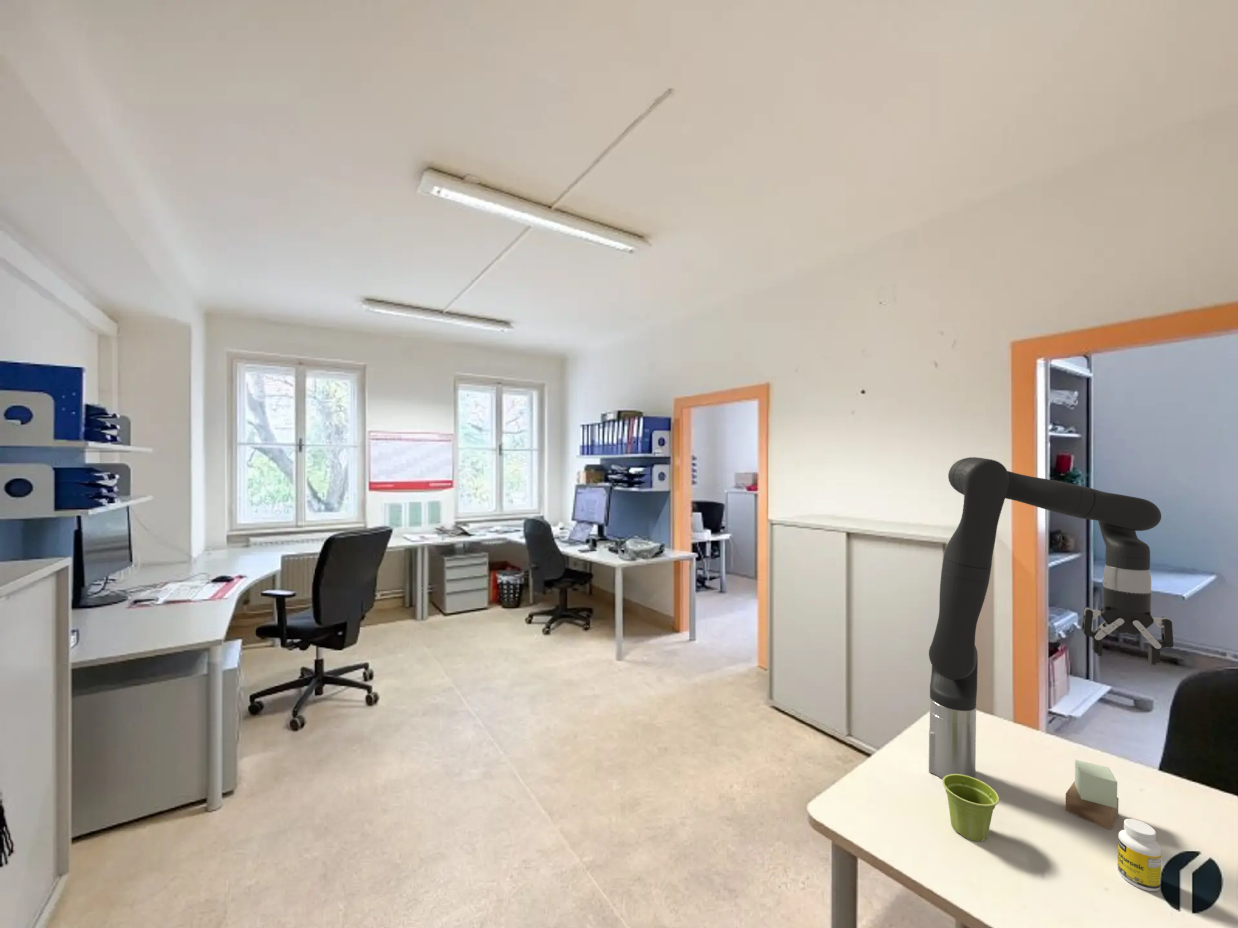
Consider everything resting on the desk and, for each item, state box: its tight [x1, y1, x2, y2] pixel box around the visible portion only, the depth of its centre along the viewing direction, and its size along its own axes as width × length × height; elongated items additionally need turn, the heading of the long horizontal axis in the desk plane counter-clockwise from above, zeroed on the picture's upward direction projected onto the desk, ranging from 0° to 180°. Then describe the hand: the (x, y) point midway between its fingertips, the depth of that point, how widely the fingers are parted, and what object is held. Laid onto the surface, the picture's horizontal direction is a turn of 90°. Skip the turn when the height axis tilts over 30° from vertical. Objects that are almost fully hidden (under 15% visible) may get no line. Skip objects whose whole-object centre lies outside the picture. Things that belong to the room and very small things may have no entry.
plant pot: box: [942, 774, 1000, 842], centre depth 103 cm, size 9×9×9 cm
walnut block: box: [1065, 780, 1120, 831], centre depth 108 cm, size 7×7×4 cm
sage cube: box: [1074, 759, 1118, 808], centre depth 108 cm, size 6×6×6 cm
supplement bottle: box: [1117, 818, 1162, 892], centre depth 91 cm, size 5×5×10 cm
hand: (1125, 659), depth 113 cm, fingers open, 8 cm apart
